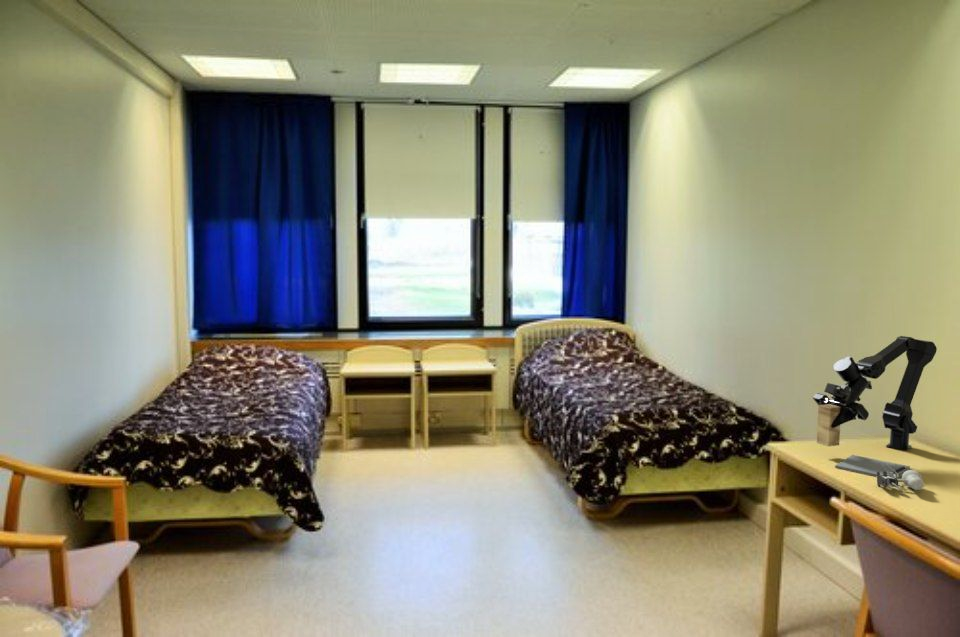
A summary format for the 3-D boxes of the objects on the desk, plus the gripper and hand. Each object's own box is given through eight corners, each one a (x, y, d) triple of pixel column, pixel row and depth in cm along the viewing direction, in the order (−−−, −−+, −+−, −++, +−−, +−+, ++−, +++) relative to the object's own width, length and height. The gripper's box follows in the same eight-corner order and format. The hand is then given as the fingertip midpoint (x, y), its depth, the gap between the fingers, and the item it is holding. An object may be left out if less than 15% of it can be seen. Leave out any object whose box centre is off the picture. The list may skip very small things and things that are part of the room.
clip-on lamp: (872, 479, 217) (881, 492, 201) (871, 458, 217) (880, 470, 201) (915, 480, 213) (928, 494, 196) (914, 460, 213) (927, 472, 196)
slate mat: (852, 457, 235) (852, 454, 234) (909, 468, 222) (909, 466, 222) (835, 467, 223) (835, 465, 223) (894, 480, 211) (894, 478, 211)
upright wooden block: (827, 441, 237) (829, 404, 236) (839, 445, 233) (841, 407, 231) (816, 442, 236) (818, 405, 234) (828, 446, 231) (830, 408, 230)
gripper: (818, 370, 242) (791, 404, 239) (864, 380, 224) (836, 416, 222) (834, 390, 245) (808, 424, 243) (880, 401, 228) (853, 438, 225)
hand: (825, 425), depth 233 cm, fingers closed on upright wooden block, 5 cm apart
